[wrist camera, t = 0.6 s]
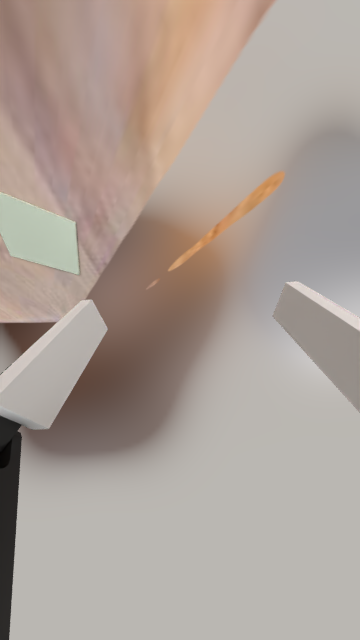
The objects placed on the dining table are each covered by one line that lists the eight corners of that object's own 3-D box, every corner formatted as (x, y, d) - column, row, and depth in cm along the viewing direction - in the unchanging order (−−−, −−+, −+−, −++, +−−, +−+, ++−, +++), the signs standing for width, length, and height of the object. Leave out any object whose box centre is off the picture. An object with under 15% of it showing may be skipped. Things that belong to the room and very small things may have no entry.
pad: (-20, 183, 23) (-23, 184, 22) (76, 222, 28) (75, 223, 28) (12, 254, 32) (10, 255, 31) (79, 273, 37) (79, 275, 37)
